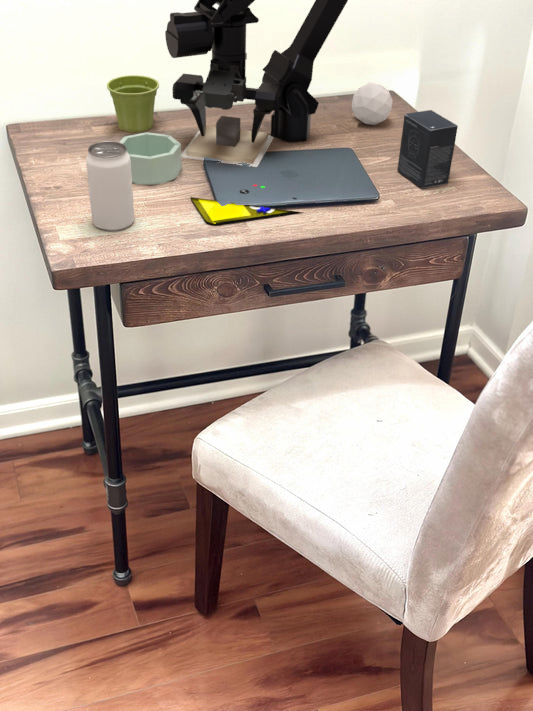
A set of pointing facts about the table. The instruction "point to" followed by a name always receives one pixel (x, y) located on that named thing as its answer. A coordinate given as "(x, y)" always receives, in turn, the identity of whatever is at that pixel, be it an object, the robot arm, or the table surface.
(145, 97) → the plant pot
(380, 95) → the geometric ball
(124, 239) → the table surface
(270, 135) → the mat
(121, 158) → the can
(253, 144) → the lid
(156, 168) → the bowl
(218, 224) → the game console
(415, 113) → the box
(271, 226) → the table surface
